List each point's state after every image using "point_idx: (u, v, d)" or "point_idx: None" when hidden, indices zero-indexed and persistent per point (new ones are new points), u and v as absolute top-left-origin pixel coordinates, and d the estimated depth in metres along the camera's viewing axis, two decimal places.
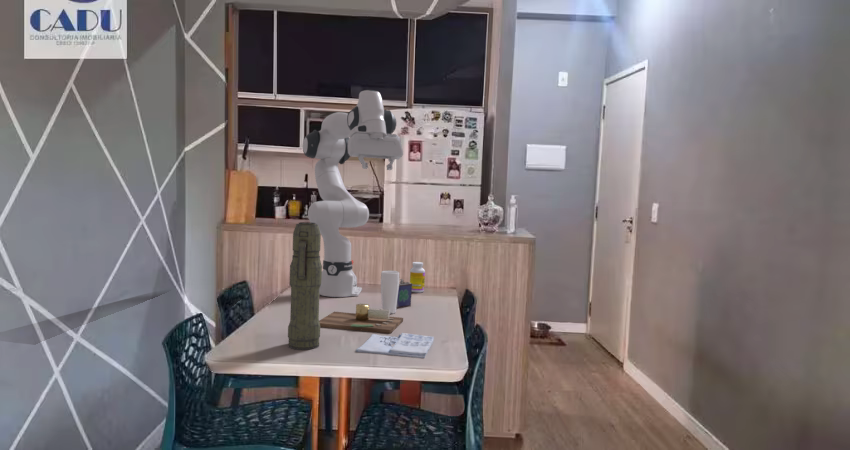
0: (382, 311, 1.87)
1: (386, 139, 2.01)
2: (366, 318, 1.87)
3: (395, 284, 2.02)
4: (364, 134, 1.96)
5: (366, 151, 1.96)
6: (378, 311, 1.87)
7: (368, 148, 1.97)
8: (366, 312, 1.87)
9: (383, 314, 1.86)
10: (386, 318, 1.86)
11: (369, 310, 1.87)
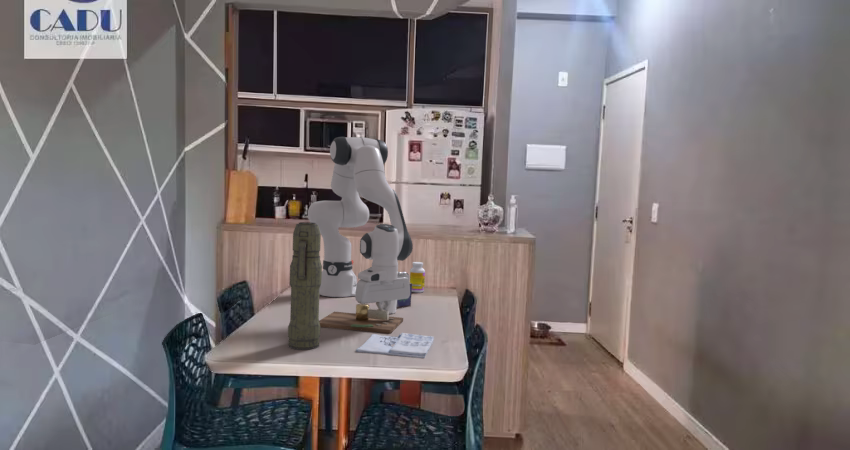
0: (381, 311, 1.86)
1: (396, 282, 1.89)
2: (365, 318, 1.87)
3: None
4: (376, 282, 1.83)
5: (375, 300, 1.84)
6: (377, 311, 1.86)
7: (377, 296, 1.85)
8: (365, 312, 1.87)
9: (382, 314, 1.86)
10: (385, 319, 1.86)
11: (369, 310, 1.87)
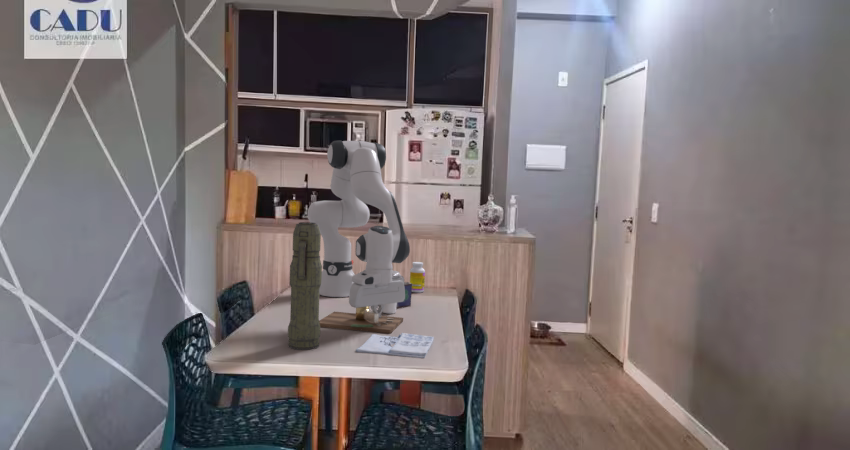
0: (371, 313, 1.82)
1: (391, 285, 1.85)
2: (361, 318, 1.87)
3: None
4: (370, 286, 1.78)
5: (369, 304, 1.80)
6: (369, 313, 1.84)
7: (372, 300, 1.80)
8: (361, 312, 1.86)
9: (371, 317, 1.82)
10: (373, 321, 1.81)
11: (364, 311, 1.86)
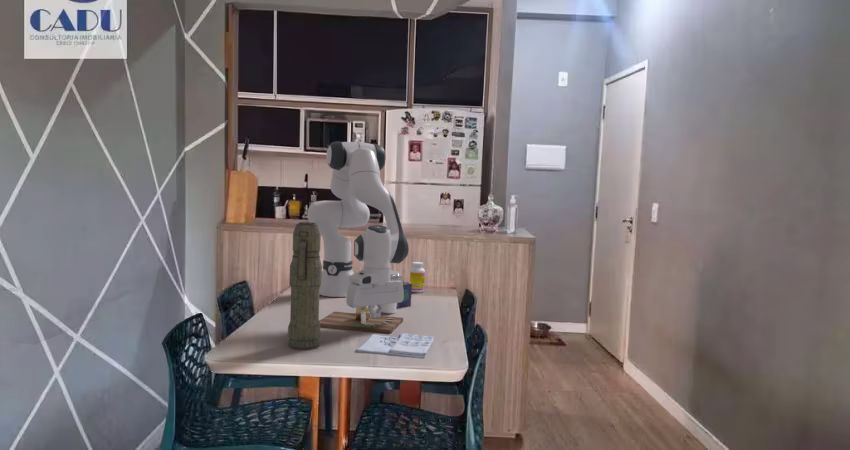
0: (361, 314, 1.81)
1: (389, 285, 1.83)
2: (358, 318, 1.87)
3: None
4: (368, 285, 1.77)
5: (367, 303, 1.78)
6: (360, 313, 1.83)
7: (369, 300, 1.79)
8: (358, 312, 1.87)
9: None
10: (361, 322, 1.80)
11: (360, 311, 1.86)
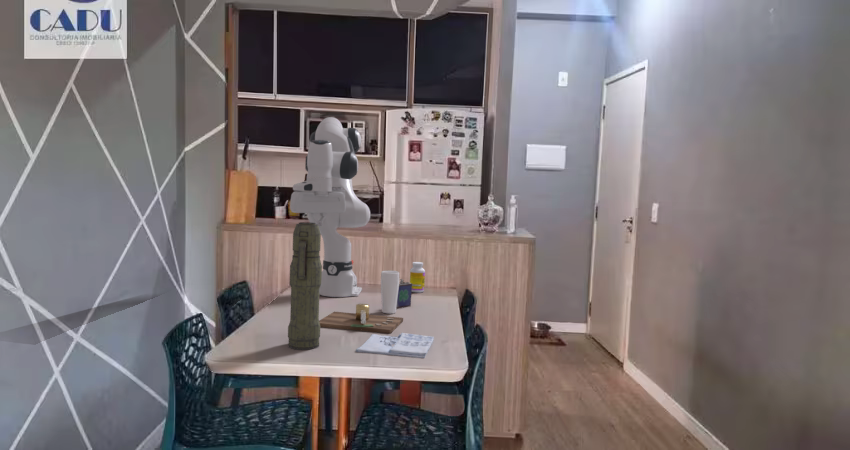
0: (361, 314, 1.81)
1: (331, 195, 1.98)
2: (358, 318, 1.87)
3: (395, 284, 2.02)
4: (309, 193, 1.91)
5: (309, 210, 1.93)
6: (360, 313, 1.83)
7: (312, 207, 1.93)
8: (358, 312, 1.87)
9: None
10: None
11: (360, 311, 1.86)
